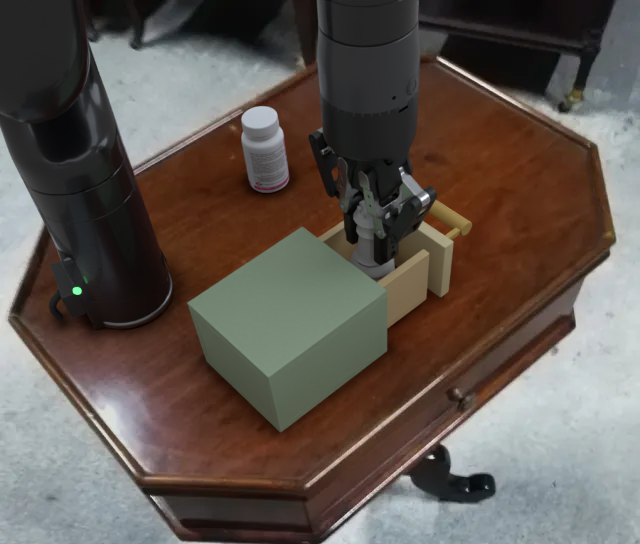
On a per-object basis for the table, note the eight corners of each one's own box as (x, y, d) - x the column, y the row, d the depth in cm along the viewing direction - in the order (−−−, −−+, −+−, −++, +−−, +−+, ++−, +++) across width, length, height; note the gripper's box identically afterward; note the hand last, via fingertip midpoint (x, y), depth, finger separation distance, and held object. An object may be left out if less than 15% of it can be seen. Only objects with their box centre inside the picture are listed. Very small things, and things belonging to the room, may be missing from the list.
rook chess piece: (391, 290, 71) (392, 227, 65) (345, 286, 72) (341, 222, 65) (398, 257, 74) (400, 192, 67) (353, 253, 74) (351, 188, 68)
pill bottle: (298, 179, 87) (290, 115, 80) (267, 200, 86) (256, 136, 79) (271, 161, 89) (262, 98, 82) (241, 181, 88) (228, 118, 81)
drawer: (410, 217, 81) (412, 165, 75) (482, 266, 77) (490, 214, 71) (288, 303, 76) (280, 254, 70) (357, 361, 71) (355, 313, 65)
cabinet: (309, 288, 78) (302, 225, 71) (387, 351, 73) (387, 290, 65) (206, 361, 74) (186, 302, 66) (280, 433, 68) (268, 377, 61)
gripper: (271, 63, 58) (293, 232, 72) (398, 143, 52) (394, 310, 66) (343, 24, 60) (350, 195, 75) (473, 96, 54) (453, 267, 68)
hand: (371, 248), depth 70 cm, fingers closed on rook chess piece, 3 cm apart
